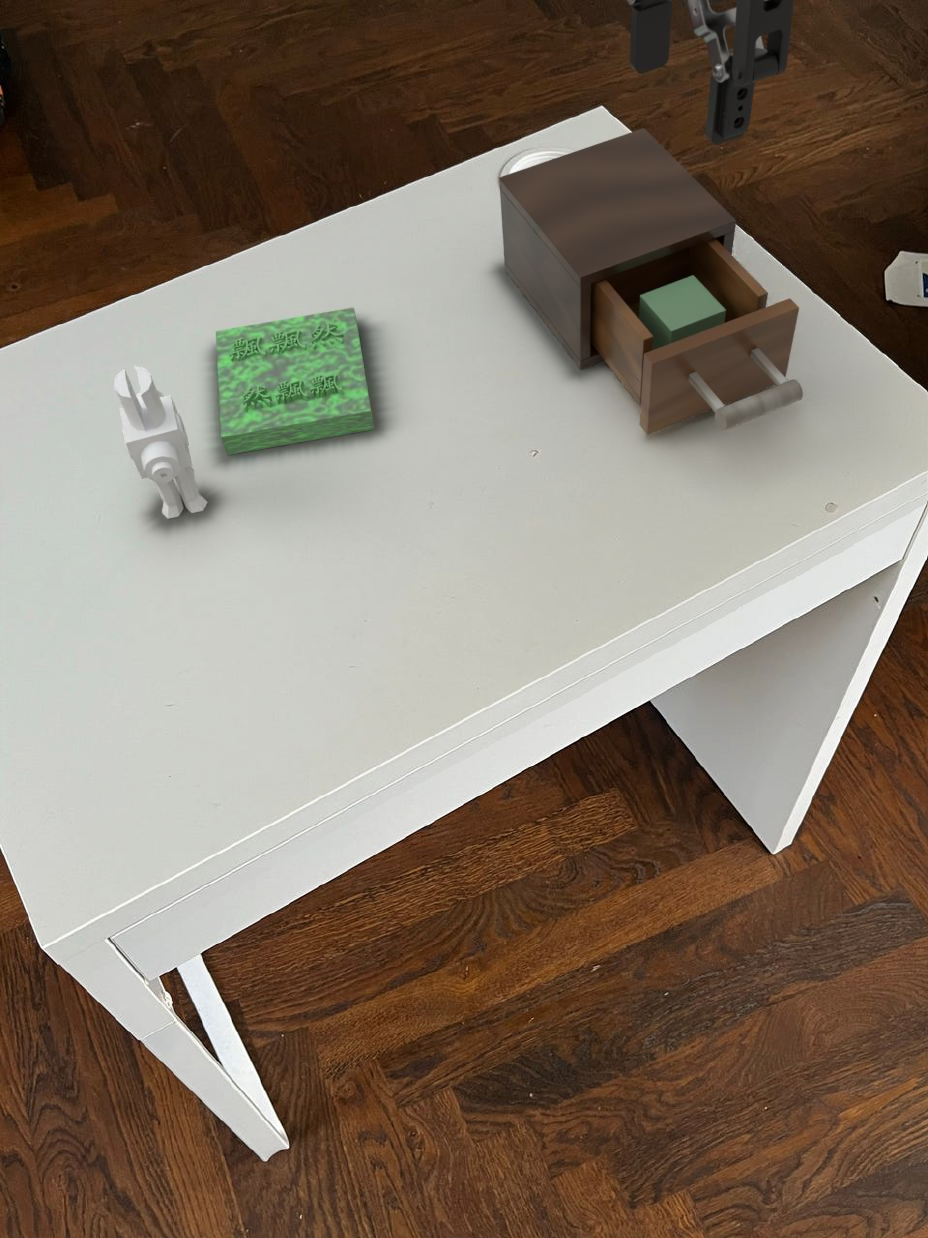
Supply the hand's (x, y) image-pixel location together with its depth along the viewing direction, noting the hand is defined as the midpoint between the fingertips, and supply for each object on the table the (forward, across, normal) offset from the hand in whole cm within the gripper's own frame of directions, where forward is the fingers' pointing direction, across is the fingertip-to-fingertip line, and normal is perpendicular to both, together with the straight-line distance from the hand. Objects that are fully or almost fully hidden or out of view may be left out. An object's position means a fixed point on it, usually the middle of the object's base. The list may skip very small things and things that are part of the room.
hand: (685, 101), depth 65 cm
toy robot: (+25, +9, +35) cm, 44 cm away
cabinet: (+25, +14, -3) cm, 29 cm away
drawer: (+24, +2, -4) cm, 24 cm away
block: (+23, +4, -3) cm, 23 cm away
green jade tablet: (+25, +16, +24) cm, 38 cm away
